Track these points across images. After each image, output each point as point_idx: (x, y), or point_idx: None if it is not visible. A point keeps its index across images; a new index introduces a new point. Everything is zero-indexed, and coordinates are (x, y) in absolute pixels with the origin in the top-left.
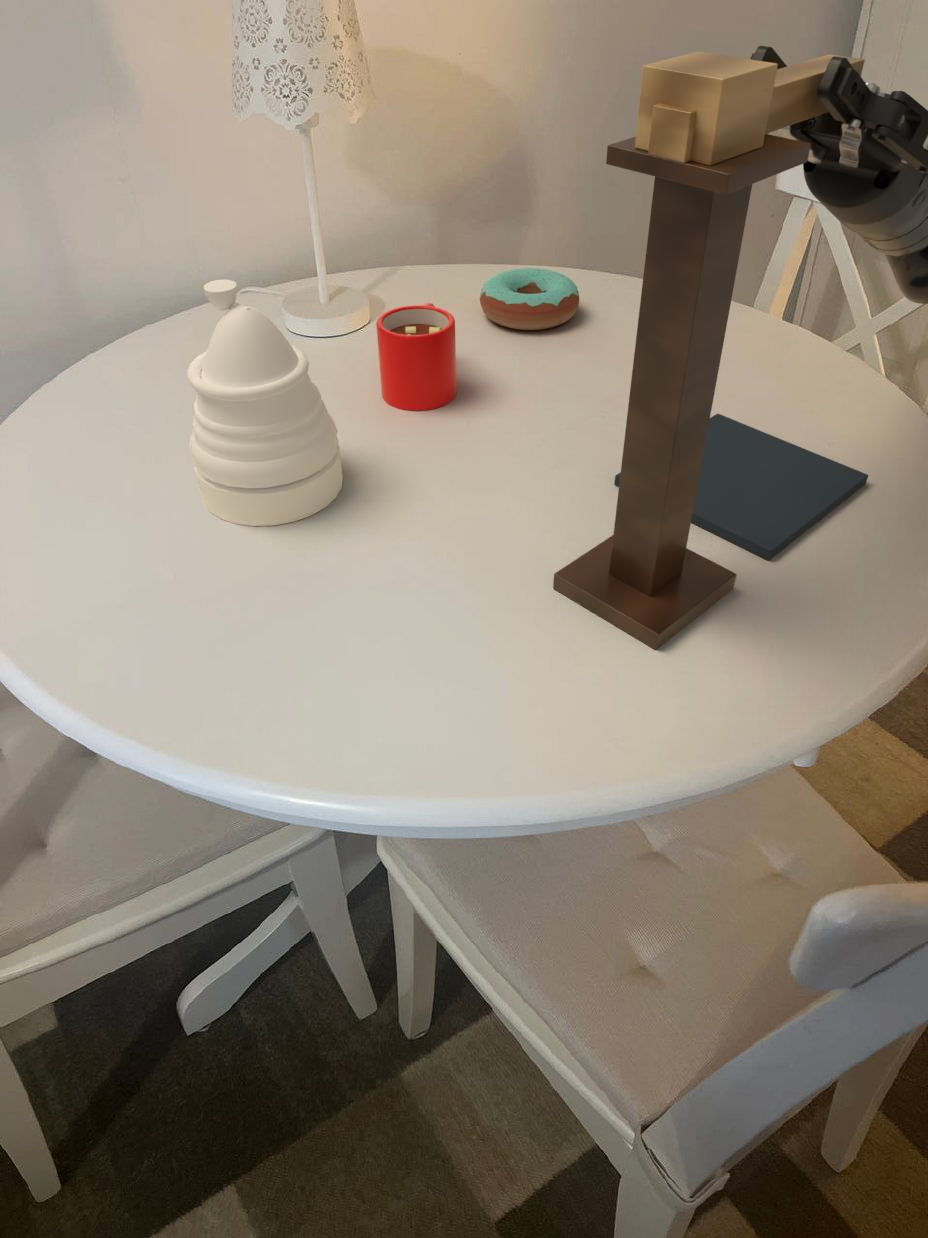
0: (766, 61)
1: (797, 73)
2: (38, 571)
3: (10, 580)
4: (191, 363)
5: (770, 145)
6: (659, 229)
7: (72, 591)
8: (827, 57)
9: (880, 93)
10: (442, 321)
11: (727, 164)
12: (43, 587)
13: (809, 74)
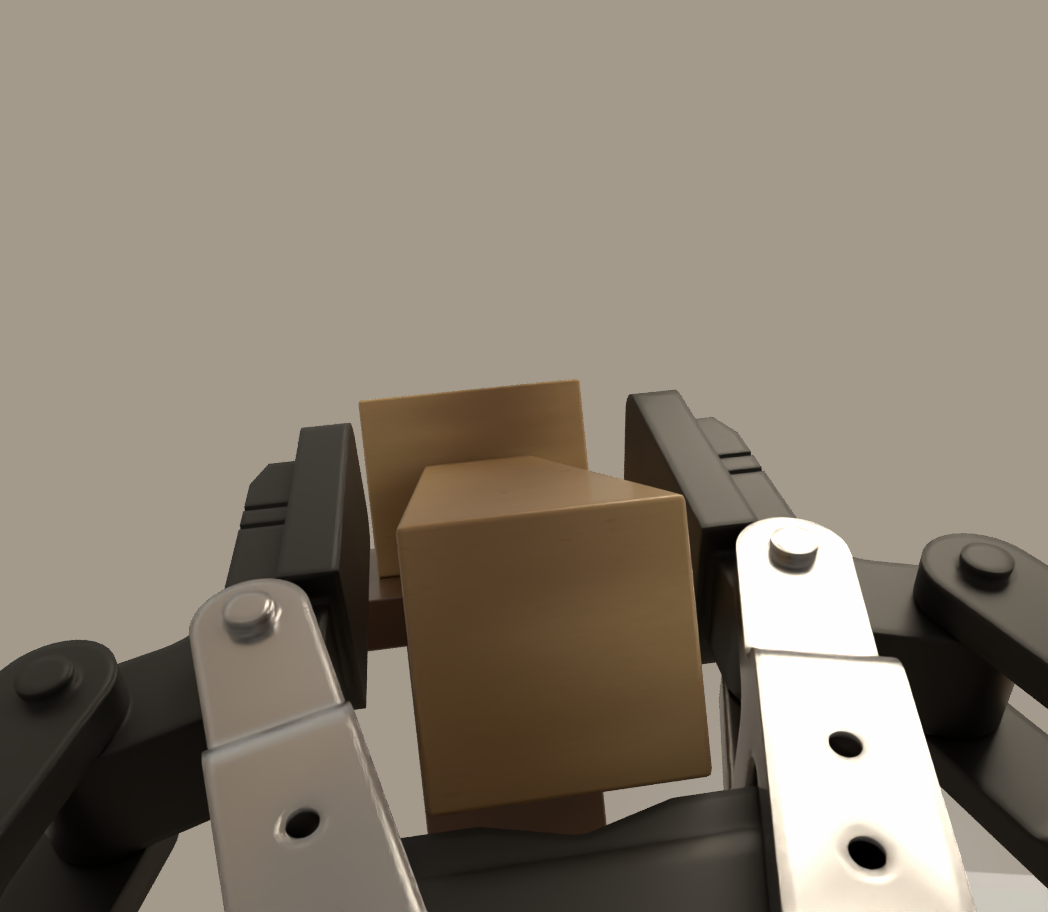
0: (632, 443)
1: (473, 475)
2: (1041, 892)
3: (1026, 875)
4: None
5: (369, 583)
6: None
7: (987, 908)
8: (605, 492)
9: (222, 745)
10: None
11: (371, 555)
12: (1003, 892)
13: (432, 481)
